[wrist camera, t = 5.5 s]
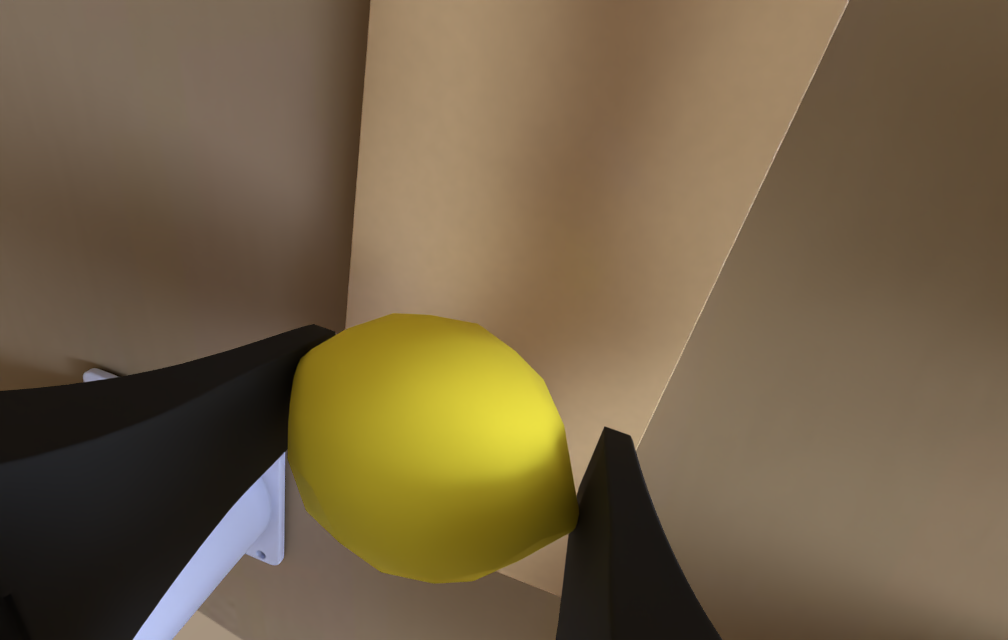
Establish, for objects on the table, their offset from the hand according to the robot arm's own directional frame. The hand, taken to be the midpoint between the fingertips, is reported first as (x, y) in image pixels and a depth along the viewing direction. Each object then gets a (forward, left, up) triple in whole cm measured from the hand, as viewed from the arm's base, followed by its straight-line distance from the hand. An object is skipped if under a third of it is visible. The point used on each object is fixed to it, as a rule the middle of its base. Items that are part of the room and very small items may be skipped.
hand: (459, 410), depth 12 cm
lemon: (0, 0, -2) cm, 2 cm away
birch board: (0, 0, -4) cm, 4 cm away
